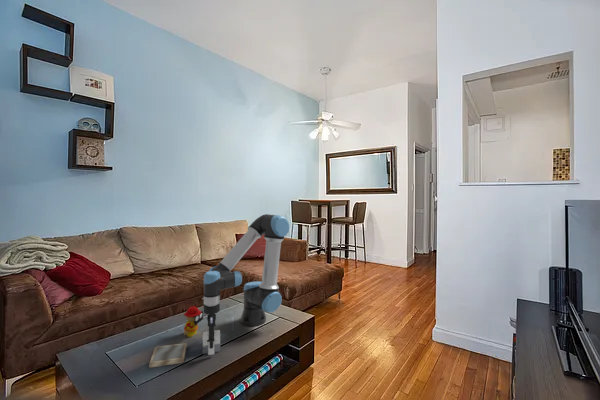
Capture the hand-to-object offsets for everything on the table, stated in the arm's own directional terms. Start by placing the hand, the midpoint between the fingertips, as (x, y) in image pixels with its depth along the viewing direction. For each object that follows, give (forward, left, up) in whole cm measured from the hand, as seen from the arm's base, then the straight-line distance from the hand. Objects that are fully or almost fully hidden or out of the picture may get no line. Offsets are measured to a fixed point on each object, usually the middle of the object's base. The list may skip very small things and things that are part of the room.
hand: (211, 346), depth 141 cm
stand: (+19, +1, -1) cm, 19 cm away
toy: (+10, -19, -2) cm, 21 cm away
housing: (0, 0, -2) cm, 2 cm away
